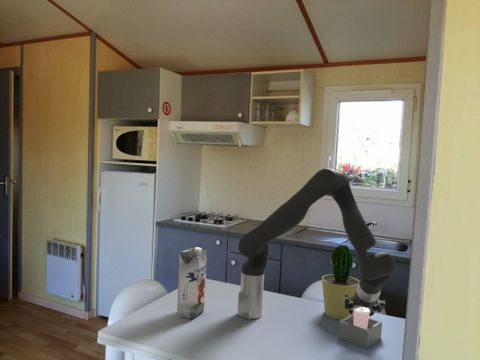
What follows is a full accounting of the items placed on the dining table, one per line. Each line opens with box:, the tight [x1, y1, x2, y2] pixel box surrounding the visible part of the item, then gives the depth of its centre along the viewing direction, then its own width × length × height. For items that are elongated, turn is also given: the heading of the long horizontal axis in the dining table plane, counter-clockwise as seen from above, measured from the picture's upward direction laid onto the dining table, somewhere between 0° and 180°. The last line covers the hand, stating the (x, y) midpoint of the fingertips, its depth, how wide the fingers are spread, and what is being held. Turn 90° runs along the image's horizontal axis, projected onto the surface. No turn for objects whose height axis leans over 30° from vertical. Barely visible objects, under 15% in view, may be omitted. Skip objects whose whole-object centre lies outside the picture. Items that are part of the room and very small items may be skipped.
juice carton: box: [176, 246, 208, 320], centre depth 156 cm, size 9×10×27 cm
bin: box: [337, 312, 383, 349], centre depth 144 cm, size 12×11×6 cm
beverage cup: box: [353, 307, 370, 329], centre depth 143 cm, size 6×6×14 cm
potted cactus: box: [321, 244, 360, 321], centre depth 164 cm, size 15×15×30 cm
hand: (360, 312), depth 145 cm, fingers closed on beverage cup, 6 cm apart
